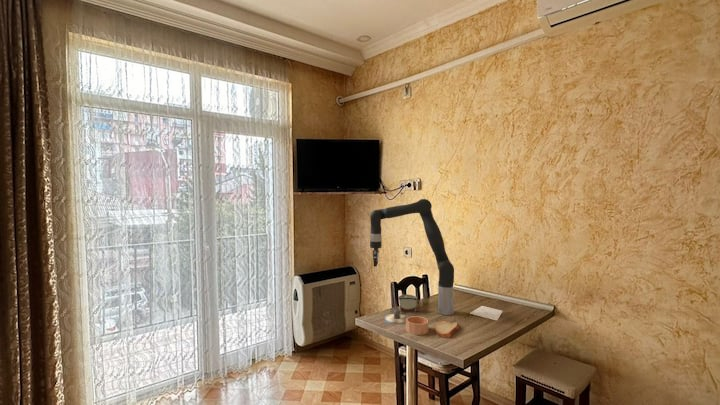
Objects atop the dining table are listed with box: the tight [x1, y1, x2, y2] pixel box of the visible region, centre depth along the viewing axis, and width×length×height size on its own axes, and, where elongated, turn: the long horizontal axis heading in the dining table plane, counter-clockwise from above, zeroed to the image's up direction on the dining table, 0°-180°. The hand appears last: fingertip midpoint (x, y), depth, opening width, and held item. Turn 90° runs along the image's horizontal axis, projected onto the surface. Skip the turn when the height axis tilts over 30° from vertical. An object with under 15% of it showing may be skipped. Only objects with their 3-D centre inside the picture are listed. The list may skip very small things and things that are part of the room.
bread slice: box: [434, 320, 460, 339], centre depth 180 cm, size 18×18×4 cm
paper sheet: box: [469, 305, 503, 321], centre depth 205 cm, size 24×29×1 cm
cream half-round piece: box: [397, 294, 419, 313], centre depth 212 cm, size 12×6×10 cm, turn 84°
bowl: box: [405, 315, 429, 337], centre depth 179 cm, size 12×12×6 cm
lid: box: [384, 309, 408, 325], centre depth 196 cm, size 14×14×5 cm
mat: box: [383, 313, 410, 325], centre depth 196 cm, size 15×15×1 cm
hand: (375, 265), depth 214 cm, fingers open, 8 cm apart
